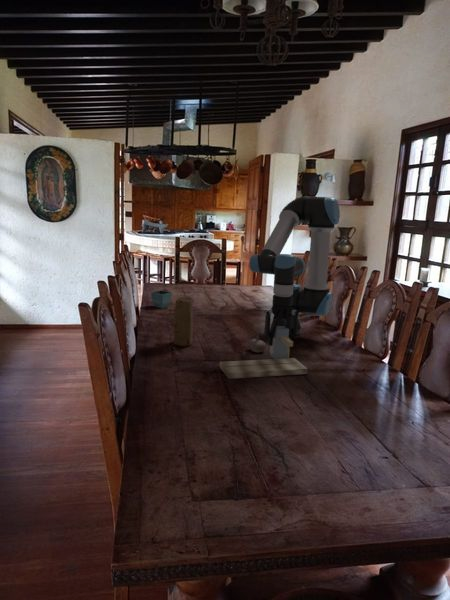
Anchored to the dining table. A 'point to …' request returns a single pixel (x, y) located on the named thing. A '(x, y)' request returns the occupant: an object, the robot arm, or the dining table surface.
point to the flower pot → (161, 298)
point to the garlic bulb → (257, 344)
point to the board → (262, 368)
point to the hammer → (281, 343)
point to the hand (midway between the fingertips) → (278, 352)
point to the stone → (183, 321)
